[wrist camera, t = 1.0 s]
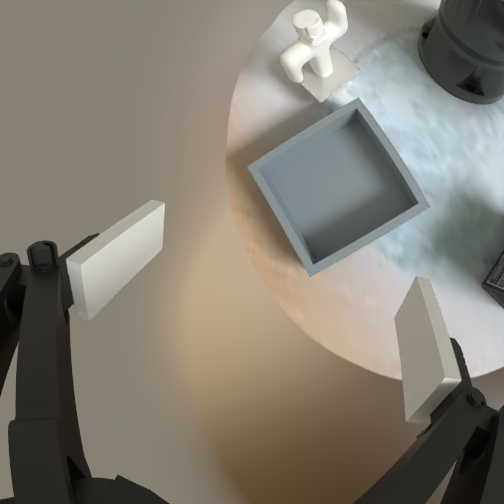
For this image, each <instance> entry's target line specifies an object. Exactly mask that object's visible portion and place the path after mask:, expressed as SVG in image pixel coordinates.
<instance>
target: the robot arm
mask: <svg viewBox="0 0 504 504" xmlns="http://www.w3.org/2000/svg"><path fill="white" fill-rule="evenodd" d="M418 48H419V54H420V57H421V60H422V62H423V64H424V66H425V68H426V69H427V71H428V72H429V74H430V75H431V76H432V78H433V79H434V80H435V81H436V82H437V83H438V84H439V85H440V86H441V87H443V88H444V89H445V90H446V91H448V92H449V93H451V94H452V95H454V96H456V97H458V98H460V99H462V100H465V101H468V102H471V103H476V104H489V103H493V102H496V101H498V100H499V99H501V98H502V97H503V96H504V0H441V2H440V7H439V9H438V10H437V11H436V12H435V13H434V14H433V15H432V16H431V17H430V18H429V19H427V21H426V22H425V23H424V25H423V27H422V29H421V32H420V37H419V42H418ZM164 209H165V203H163V202H159V201H156V200H151V201H149V202H148V203H146V204H145V205H143V206H142V207H140V208H139V209H137V210H136V211H134V212H133V213H131V214H130V215H128V216H126V217H125V218H124V219H122V220H120V221H119V222H117V223H116V224H115V225H113V226H112V227H110V228H109V229H107V230H106V231H105V232H103V233H101V234H98V233H97V234H94V235H91V236H88V237H87V238H86V239H84V240H82V241H81V242H80V243H78V244H77V245H75V247H73V248H71V249H70V250H68V251H67V252H65V253H64V254H63V255H61V256H60V257H58V251H57V246H56V244H55V243H54V242H52V241H38V242H36V243H33V244H32V245H31V246H29V247H28V249H27V255H28V259H29V265H30V266H27V265H22V264H21V263H20V259H19V256H18V255H17V254H16V253H5V254H2V255H0V396H1V392H2V389H3V385H4V382H5V379H6V376H7V372H8V370H9V366H10V364H11V361H12V358H13V355H14V352H15V349H16V346H17V344H18V341H19V345H18V357H17V372H16V417H15V420H12V421H10V423H9V426H8V439H9V440H8V441H9V457H10V468H11V477H12V485H13V492H14V497H11V498H6V499H1V500H0V504H169V503H168V502H166V501H165V500H163V499H162V498H160V497H159V496H158V495H156V494H155V493H154V492H152V491H151V490H149V489H147V488H144V487H142V486H140V485H138V484H136V483H134V482H132V481H129V480H128V479H126V478H124V477H122V476H120V475H117V477H116V478H115V480H113V479H107V478H92V476H91V473H90V470H89V467H88V464H87V462H86V459H85V456H84V452H83V447H82V442H81V436H80V430H79V424H78V418H77V411H76V403H75V395H74V385H73V375H72V363H71V347H70V321H69V320H70V316H69V311H68V309H69V308H70V307H71V305H73V304H74V308H75V312H76V315H78V316H80V317H82V318H84V319H86V320H88V321H90V320H91V319H92V318H93V317H94V316H95V315H96V314H97V313H98V312H99V311H100V310H101V309H102V308H103V307H104V306H105V305H106V304H107V303H108V302H109V301H110V300H111V299H112V297H114V296H115V294H116V293H117V292H118V291H120V290H121V289H122V287H123V286H125V285H126V284H127V282H129V280H131V279H132V278H133V277H134V276H135V274H137V273H138V272H139V271H140V270H141V269H142V268H143V267H144V266H145V265H146V264H147V263H148V262H149V261H150V260H151V259H152V258H153V257H154V256H155V255H156V254H157V253H158V252H160V251H161V250H162V243H163V225H164ZM394 319H395V325H396V332H397V339H398V346H399V353H400V361H401V370H402V379H403V389H404V400H405V413H406V421H407V422H413V423H420V424H422V423H423V422H424V421H425V420H426V419H427V418H428V417H429V416H430V417H431V424H430V425H429V426H428V427H427V428H426V429H425V430H424V431H422V432H421V433H420V434H419V435H418V436H417V440H416V441H415V442H414V443H413V444H412V445H411V447H409V449H408V450H407V451H406V452H405V453H404V454H403V455H402V456H401V457H400V458H399V459H398V461H397V462H396V463H395V464H394V465H393V466H392V467H391V468H390V469H389V470H388V471H387V472H386V473H385V474H384V475H383V476H382V477H381V478H380V479H379V480H378V481H377V482H376V483H375V484H374V485H373V486H371V487H370V488H369V489H368V490H367V491H366V492H365V493H364V494H363V495H362V496H361V497H359V498H358V499H357V500H356V501H355V502H354V503H353V504H425V503H426V502H427V500H428V499H429V498H430V497H431V495H432V494H433V493H434V491H435V490H436V489H437V487H438V486H439V484H440V483H441V482H442V480H443V479H444V478H445V476H446V474H447V473H448V472H449V470H450V469H451V467H452V466H453V464H454V463H455V461H456V460H457V462H456V464H455V467H454V470H453V473H452V476H451V478H450V481H449V484H448V486H447V489H446V491H445V494H444V496H443V498H442V501H441V503H440V504H504V405H503V406H502V407H501V408H500V409H499V410H498V411H497V410H494V409H492V408H490V407H488V406H487V404H486V399H485V397H484V395H483V394H482V393H481V392H480V391H479V390H478V389H476V388H474V387H472V383H471V380H470V376H469V373H468V369H467V366H466V365H465V364H466V363H465V359H464V358H463V353H462V350H461V347H460V346H459V344H458V343H457V341H456V340H455V339H454V338H450V337H449V334H448V331H447V328H446V325H445V322H444V319H443V316H442V313H441V311H440V308H439V305H438V302H437V299H436V297H435V294H434V291H433V289H432V286H431V283H430V281H429V279H426V278H422V277H419V276H416V277H415V279H414V281H413V283H412V285H411V287H410V289H409V291H408V293H407V295H406V297H405V299H404V301H403V303H402V305H401V307H400V308H399V310H398V312H397V314H396V316H395V318H394Z"/></svg>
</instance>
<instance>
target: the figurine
mask: <svg viewBox="0 0 504 504" xmlns="http://www.w3.org/2000/svg"><path fill="white" fill-rule="evenodd" d="M326 8H327V18H326V20H325V21H324V22H323V23H322V20H321V19H320V17H319V15H318V13H317V12H315V11H313V10H301V11H299V12H297V13H296V14H295V15H294V16H293V18H292V23H293V25H294V27H295V29H296V32H297V33H298V34H299V40H298V41H297V42H296V43H294V44H293V45H292V46H290V47H289V48H288V49H286V50H285V51H284V52H283V53H282V54H281V56H280V63H281V65H282V67H283V69H284V71H285V72H286V74H287V76H288V78H289V79H290V80H291V81H293V82H295V83H301V84H302V85H303V86H304V87H305V88H306V89H307V90H308V91H309V92H310V93H311V94H312V95H313V96H314V97H316V98H317V99H318V100H319V101H320V102H321V103H322V102H323V101H324V100H326V99H327V98H328V97H329V96H331V95H332V94H333V93H334V92H336V91H337V90H338V89H339V88H341V87H342V86H343V85H344V84H346V83H347V82H348V81H350V80H351V79H352V78H353V77H355V76H356V75H357V74H358V73H360V72H361V71H362V70H361V69H360V68H359V67H358V66H357V65H356V64H354V63H353V62H352V61H351V60H350V59H349V58H347V57H346V56H345V55H344V54H343V53H341V52H340V51H339V50H338V49H336V48H335V47H334V46H333V45H331V44H332V43H333V42H334V41H335V40H337V39H338V38H339V37H341V36H342V35H343V34H345V33H346V31H347V29H348V22H347V16H346V9H345V7H344V5H343V4H342V3H341V2H340V1H338V0H328V1H327V2H326Z"/></svg>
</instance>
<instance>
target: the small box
mask: <svg viewBox="0 0 504 504" xmlns="http://www.w3.org/2000/svg"><path fill="white" fill-rule="evenodd" d="M482 286H483V288H484V289H485V290H487V291H488V293H490V294H491V295H492V296H493V297H494V298H495V299H496V300H497V301H498V302H499V304H500V305H501V306H502V307H503V308H504V251H503V253H502V254H501V256H500V258H499V259H498V261H497V262H496V264H495V265H494V267H493V269H492V270H491V272H490V273H489V275H488V276H487V278H486V279H485V281H484V282H483V284H482Z"/></svg>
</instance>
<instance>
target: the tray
mask: <svg viewBox="0 0 504 504" xmlns="http://www.w3.org/2000/svg"><path fill="white" fill-rule="evenodd" d="M247 168H248V169H249V171H250V173H251V174H252V176H253V178H254V179H255V181H256V183H257V185H258V186H259V188H260V190H261V191H262V193H263V195H264V197H265V198H266V200H267V202H268V203H269V205H270V207H271V209H272V210H273V212H274V214H275V216H276V217H277V219H278V221H279V223H280V224H281V226H282V228H283V230H284V231H285V233H286V235H287V237H288V238H289V240H290V242H291V244H292V246H293V247H294V249H295V251H296V253H297V255H298V256H299V258H300V260H301V262H302V264H303V265H304V267H305V269H306V271H307V273H308V274H309V276H310V277H311V276H312V275H314V274H316V273H318V272H320V271H322V270H323V269H325V268H327V267H329V266H330V265H332V264H334V263H336V262H338V261H339V260H341V259H343V258H345V257H346V256H348V255H350V254H352V253H353V252H355V251H357V250H359V249H360V248H362V247H364V246H366V245H367V244H369V243H371V242H372V241H374V240H376V239H378V238H379V237H381V236H383V235H384V234H386V233H388V232H389V231H391V230H393V229H394V228H396V227H398V226H399V225H401V224H403V223H404V222H406V221H408V220H409V219H411V218H413V217H414V216H416V215H418V214H419V213H421V212H422V211H424V210H426V209H427V208H429V207H430V206H429V204H428V202H427V200H426V198H425V197H424V195H423V193H422V191H421V190H420V188H419V186H418V184H417V183H416V181H415V179H414V178H413V176H412V174H411V173H410V171H409V170H408V168H407V166H406V165H405V163H404V162H403V160H402V158H401V157H400V155H399V154H398V152H397V151H396V149H395V148H394V146H393V145H392V143H391V142H390V140H389V139H388V137H387V136H386V134H385V133H384V131H383V130H382V129H381V127H380V126H379V124H378V123H377V122H376V120H375V119H374V117H373V116H372V115H371V113H370V112H369V111H368V109H367V108H366V107H365V105H364V104H363V103H362V101H361V100H360V99H359V97H358V98H357V99H355V100H353V101H352V102H350V103H348V104H346V105H345V106H343V107H341V108H339V109H338V110H336V111H334V112H333V113H331V114H329V115H328V116H326V117H324V118H323V119H321V120H319V121H318V122H316V123H314V124H313V125H311V126H310V127H308V128H306V129H305V130H303V131H301V132H300V133H298V134H297V135H295V136H293V137H292V138H290V139H289V140H287V141H286V142H284V143H282V144H281V145H279V146H278V147H276V148H275V149H273V150H272V151H270V152H269V153H267V154H265V155H264V156H262V157H261V158H259V159H258V160H256V161H255V162H253V163H252V164H250V165H249V166H247Z"/></svg>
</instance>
